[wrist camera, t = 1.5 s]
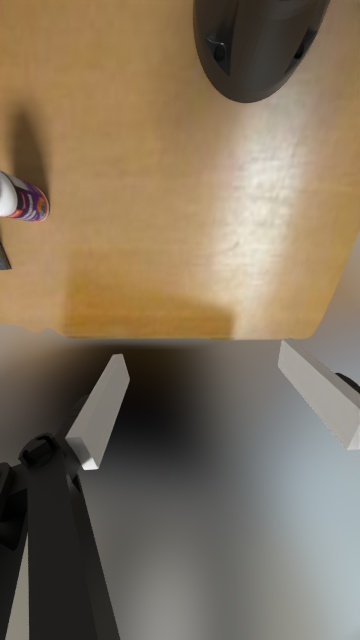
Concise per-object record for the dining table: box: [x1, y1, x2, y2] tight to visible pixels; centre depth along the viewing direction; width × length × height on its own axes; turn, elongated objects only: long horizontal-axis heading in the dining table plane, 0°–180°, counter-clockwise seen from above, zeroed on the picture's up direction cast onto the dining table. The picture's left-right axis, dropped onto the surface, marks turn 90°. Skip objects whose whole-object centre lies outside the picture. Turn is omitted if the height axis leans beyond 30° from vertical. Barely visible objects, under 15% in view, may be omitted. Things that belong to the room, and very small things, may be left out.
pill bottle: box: [0, 171, 49, 222], centre depth 23 cm, size 5×5×10 cm
